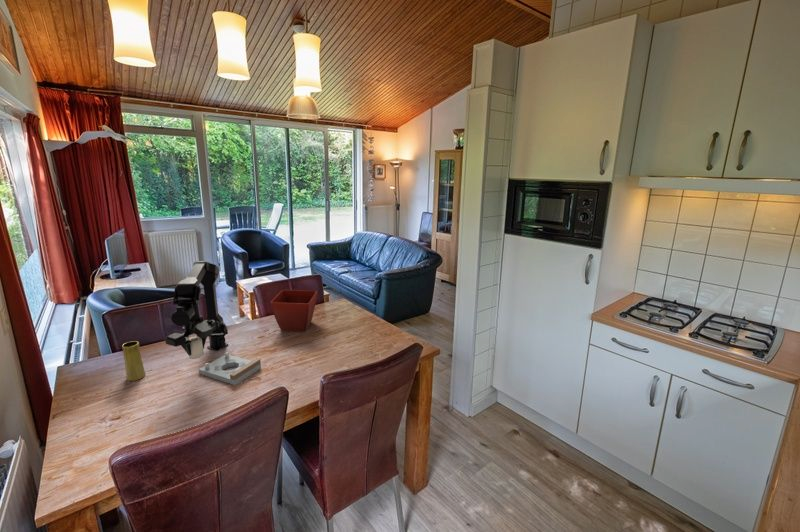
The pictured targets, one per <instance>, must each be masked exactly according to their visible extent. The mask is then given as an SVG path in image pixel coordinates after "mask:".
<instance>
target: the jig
mask: <svg viewBox="0 0 800 532" xmlns="http://www.w3.org/2000/svg"><path fill="white" fill-rule="evenodd" d="M261 362H262V361H261V359H260V358H257V357H256V358H255V359H253V360H249V359H245V358H242V357H239V356H235V355H232V354H230V352H229V351H226V352H224V354H223V355H222V356H220V357H218V358H217V359H215V360H213V361H211V362H206V363H204V366H202V367H200V368H198V373H199V374H200V375H202V376H206V377H208V378H211V379H215V380H218V381H222V382H225V383H228V384H231V385H233V386H235V385H237V384H238V383H240V382H242V381H243V380H245V379H246V378H248V377H249V376H251V375H252V374H255V372H257V371H258V370H260V369H261V368H262V365H261V364H262V363H261ZM232 367H236V368H234V369H230V370H225V369H227V368H232Z"/></svg>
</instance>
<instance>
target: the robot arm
mask: <svg viewBox="0 0 800 532" xmlns="http://www.w3.org/2000/svg"><path fill="white" fill-rule="evenodd" d="M219 275H220V268H219V267H218V266H217V265H216V264H214V263H211V262H209V261H206V260H197V261H194V262H193V266H192V267H191V270H189V272H188V275H187V276H186V278H184V279H182V280H179V282H178V283H177V284H176V285H175V287H174V293H173V301H172V305H173V306H176V305H177V307H175V309H176V310H175V311H174V312H173V313H172V315H171V318H170V319H171V322H172V323H173V324H174V325H175V326H177V327H182V328H181V331H183V332H182V333H179V332H174V333H171V334H169V335H167V336H166V337H165V339H164V340H165V342H164V343H165V344H166V345H169V346H172V347H174V348H175V347H182V348H183V350H184V351H185V352H186V354H187V356H189V355H191V347H190V343H191V342H192V341H190V340H189V338H190V336H191V337H192V336H193V335H195V336H199V337H200V338H202V345H203V350H204V349H205V345H206V341H207V338H208V340H209V345H208V346H207V347H206V348H207V349H210V350H213V351H216V352H217V351H220V350H221V349H224V348H225V347H227V346H229V343H227V342H226V338H225V336H226V335H228V334H229V332H228V326H227V325H226V323H225V322H224V318H223V317H222V316H221V315H220V313H219V307H218V299H217V291H216V282H217V280H218V279H219ZM200 284H201V285H202V286H203V295H204V302H205V310H206V318H205V319H204V317H203V315H201V314H200V306H199V305H200V304H199V301H200V299H201V294H202V288H201V285H200Z"/></svg>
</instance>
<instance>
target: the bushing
mask: <svg viewBox="0 0 800 532" xmlns="http://www.w3.org/2000/svg"><path fill="white" fill-rule="evenodd" d="M189 340H190V341H192V342H191V343H190V347H191V355H188V357H189V359H191V360H197V359H200V358H202V357H203V356H204V349H203V345H202V338H200V337H199V336H197V335H195V336H191V337H189Z"/></svg>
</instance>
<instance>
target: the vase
mask: <svg viewBox="0 0 800 532" xmlns="http://www.w3.org/2000/svg"><path fill="white" fill-rule="evenodd" d="M121 347H122V352H123V357H124V359H123V360H124V365H125V372H126V373H125V374H126V375H125V376H126V380H127V381H128V382H129V381H130V382H135V381H139V380H140V379H142V378H144V377H145V376H146V371H145V367H144V363H143V360H142V359H143V358H142V354H141V349H140V342H139V341H138V340H133V341H132V340H131V341H127V342H125V343H123V344H122V345H121Z"/></svg>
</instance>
